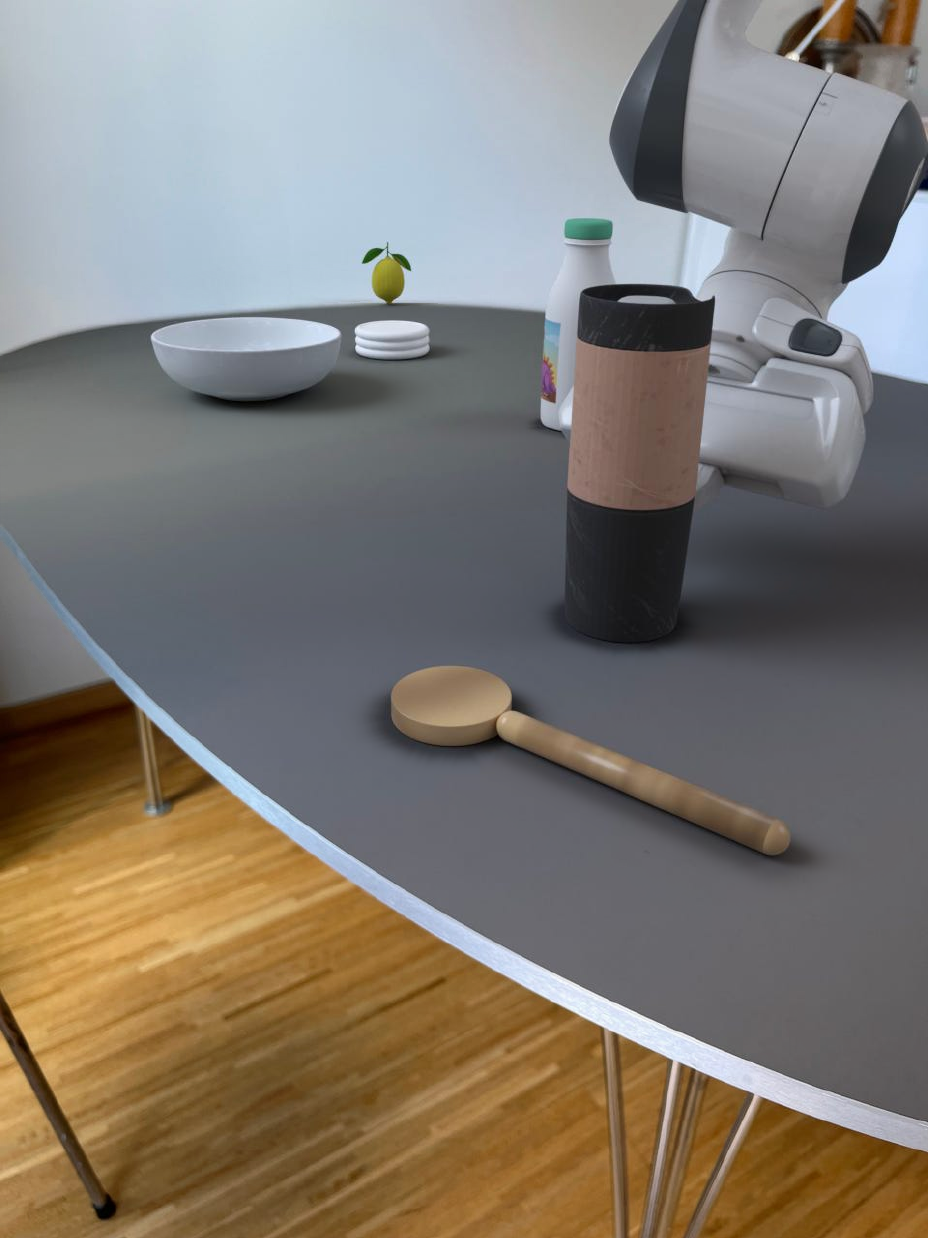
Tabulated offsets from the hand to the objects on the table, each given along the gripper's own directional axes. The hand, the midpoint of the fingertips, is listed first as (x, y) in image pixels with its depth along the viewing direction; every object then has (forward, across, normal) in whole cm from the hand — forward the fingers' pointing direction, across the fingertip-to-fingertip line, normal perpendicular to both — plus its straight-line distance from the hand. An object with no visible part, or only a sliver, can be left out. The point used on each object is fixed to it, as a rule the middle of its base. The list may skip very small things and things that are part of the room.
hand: (654, 527), depth 67 cm
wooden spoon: (+17, +7, -11) cm, 21 cm away
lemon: (-49, -95, +58) cm, 121 cm away
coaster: (-28, -67, +37) cm, 82 cm away
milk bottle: (-19, -28, +27) cm, 43 cm away
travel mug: (+6, 0, +1) cm, 6 cm away
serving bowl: (-10, -64, +18) cm, 67 cm away
